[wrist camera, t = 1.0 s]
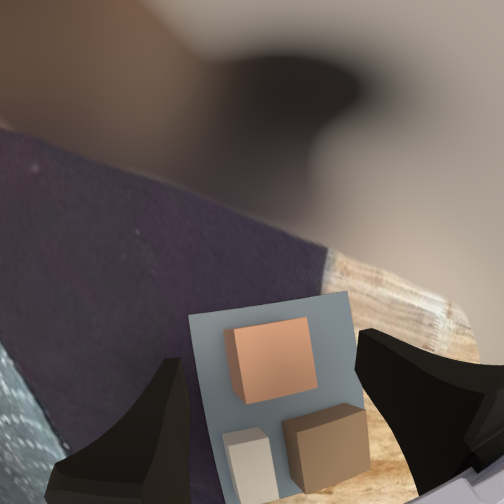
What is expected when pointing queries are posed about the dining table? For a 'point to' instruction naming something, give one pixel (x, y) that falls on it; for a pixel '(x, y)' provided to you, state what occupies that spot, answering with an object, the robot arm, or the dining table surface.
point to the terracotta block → (270, 359)
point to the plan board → (284, 406)
